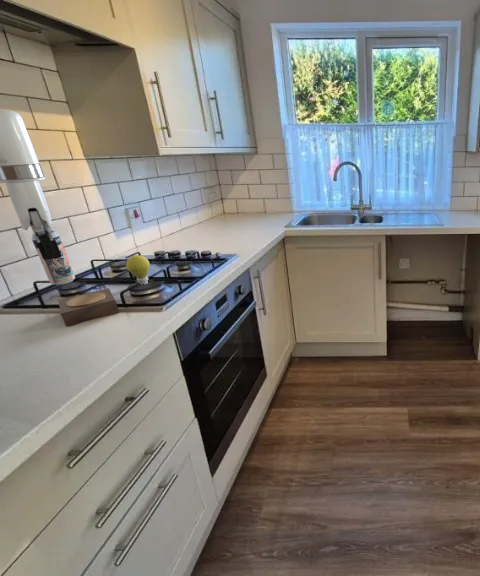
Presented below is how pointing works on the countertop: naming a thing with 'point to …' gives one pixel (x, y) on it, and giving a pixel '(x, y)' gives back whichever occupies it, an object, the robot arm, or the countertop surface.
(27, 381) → the countertop surface
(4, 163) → the robot arm
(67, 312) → the block
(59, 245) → the beer can
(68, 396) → the countertop surface
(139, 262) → the light bulb
